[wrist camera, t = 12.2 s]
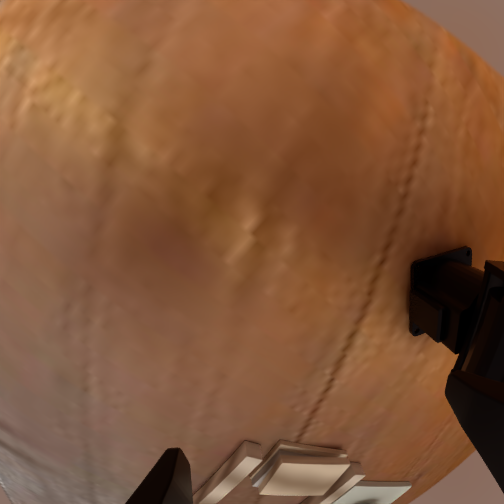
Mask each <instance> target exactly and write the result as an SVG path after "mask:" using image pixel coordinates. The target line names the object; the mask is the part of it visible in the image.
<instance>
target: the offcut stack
mask: <svg viewBox="0 0 504 504" xmlns="http://www.w3.org/2000/svg"><path fill="white" fill-rule="evenodd" d="M347 455H348V454H347V452H346V450H338V449H330V448H324V447H317V446H311V445H305V444H300V443H295V442H289V441H285V440H279V441H278V443H277V444H276V445H275V446H274V447H273V448H272V450H271V451H270V452H269V453H268V454H267V455H266V456H265V457H264V459H263V460H262V461H261V462H260V463H259V464H258V465H257V466H256V467H255V468H254V470H253V471H252V472H251V473H250V474H249V477H250V479H252V486H255V487H258V489H259V494H263V495H285V496H317V495H324V494H325V492H326V491H327V490H328V489H329V488H330V487H331V486H332V485H333V484H334V483H335V482H336V481H337V479H338V478H339V477H340V476H341V475H342V474H343V473H344V472H345V470H346V469H347V468H348V467H349V466H350V465H351V464H350V462H349V459H348V457H346V456H347Z"/></svg>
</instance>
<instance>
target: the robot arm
mask: <svg viewBox="0 0 504 504" xmlns="http://www.w3.org/2000/svg"><path fill="white" fill-rule="evenodd" d="M466 252H467V254H466ZM418 265H419V267H418V269H417V270H416V268H417V266H418ZM471 265H472V250H471V248H469V247H467V246H465V247H462V248H459V249H455V250H452V251H448V252H445V253H442V254H438V255H435V256H431V257H427V258H424V259H420V260H417V261H414V262H413V263H412V265H411V291H410V333H411V334H412V335H413V336H418V335H421V334H423V333H426V334H427V335H429V336H430V337H431V338H432V339H433V340H434V341H436V342H437V343H439V342H442V343H443V344H444V345H445V346H446V347H447V348H449V349H450V350H451V351H452V352H453V353H454V354H458V353H459V355H458V358H457V360H456V363H455V365H454V368H453V369H452V370H451V372H450V374H449V375H448V379H447V383H446V388H445V396H446V398H447V400H448V402H449V404H450V406H451V408H452V409H453V411H454V413H455V415H456V417H457V419H458V421H459V423H460V425H461V427H462V428H463V430H464V431H465V433H466V434H467V436H468V437H469V439H470V440H471V442H472V444H473V445H474V447H475V448H476V450H477V451H478V453H479V454H480V456H481V457H482V459H483V461H484V462H485V464H486V465H487V467H488V468H489V470H490V472H491V473H492V475H493V477H494V478H495V480H496V482H497V483H498V485H499V487H500V488H501V490H502V492H503V493H504V262H501V261H490V260H486V261H485V266H484V269H485V271H484V272H483V271H481V270H479V269H477V268H475V267H472V266H471ZM416 329H417V330H416ZM415 330H416V331H415ZM125 504H193V495H192V483H191V471H190V464H189V462H188V460H187V458H186V456H185V455H184V453H183V451H182V450H181V449H180V448H168V449H167V450H166V451H165V452H164V453H163V455H162V456H161V457H160V459H159V460H158V461H157V463H156V464H155V465H154V467H153V468H152V469H151V471H150V472H149V473H148V475H147V476H146V477H145V479H144V480H143V481H142V483H141V484H140V485H139V486H138V488H137V489H136V490H135V492H134V493H133V494H132V496H131V497H130V498H129V499H128V501H127V502H126V503H125Z"/></svg>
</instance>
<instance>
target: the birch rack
mask: <svg viewBox="0 0 504 504" xmlns="http://www.w3.org/2000/svg"><path fill="white" fill-rule="evenodd" d="M262 460H263V459H262V452H261V446H260V444H256V443H252V442H249V441H244V442H243V443H242V445H241V446H240V447H239V448H238V449H237V450H236V451H235V452H234V454H233V455H232V456H231V457H230V458H229V459H228V460H227V461H226V462H225V463H224V464H223V466H222V467H221V468H220V469H219V470H218V471H217V472H216V473H215V474H214V475H213V476H212V477H211V478H210V479H209V480H208V481H207V482H206V483H205V484H204V485H203V486H202V487H201V488H200V489H199V490H198V491H197V492H196V493H195V494H194V495H193V504H216V503H217V502H218V501H220V500H221V499H222V498H223V497H224V496H225V495H226V494H228V493H229V492H230V491H231V490H232V489H233V488H234V487H235V486H236V485H238V484H239V483H240V482H241V481H242V480H243V479H244V478H245V477H246V476H247V475H248V474H249V473H250V472H251V471H252V470H253V469H254V468H255V467H256V466H257V465H258V464H259V463H260V462H261V461H262ZM350 464H351V465H350V466H349V467H348V468H347V469H346V470H345V472H344V473H343V474H342V475H341V476H340V477H339V478H338V479H337V481H336V482H335V483H334V484H333V485H332V486H331V487H330V488H329V489H328V490H327V491H326V492H325V494H324V495H317V496H309V497H308V498H307V499H305V500H304V501H303V502H302V503H300V504H331V503H332V502H333V501H335V500H336V499H337V498H339V497H340V496H341V495H343V494H344V493H345V492H346V491H348V490H349V489H350V488H351V487H353V486H354V485H355V484H356V483H357V482H359V481H360V480H361V479H362V478H363V477H364V476H366V475H365V473H364V471H363V468H362V466H361V464H360V463H354V462H350Z"/></svg>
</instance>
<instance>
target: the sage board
mask: <svg viewBox="0 0 504 504" xmlns="http://www.w3.org/2000/svg"><path fill="white" fill-rule="evenodd" d="M411 487H412V485H411V483H410V482H376V481H359V482H357V483H356V484H355V485H354V486H353V487H351V488H350V489H349V490H348V491H346V492H345V493H344V494H343V495H341V496H340V497H339V498H337V499H336V500H335V501H333V502H332V503H331V504H368V503H375V504H391V503H392V502H393V501H395V500H396V499H397V498H398V497H400V496H401V495H402V494H403V493H405V492H406V491H407V490H408V489H409V488H411Z"/></svg>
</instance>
